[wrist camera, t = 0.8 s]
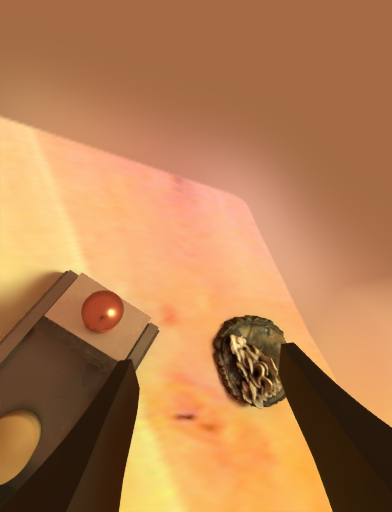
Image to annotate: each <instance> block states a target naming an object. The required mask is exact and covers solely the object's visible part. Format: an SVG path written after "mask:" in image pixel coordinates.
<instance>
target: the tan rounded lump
mask: <svg viewBox="0 0 392 512" xmlns="http://www.w3.org/2000/svg"><path fill="white" fill-rule="evenodd" d="M40 436H41V423H40V421H39V419H38V417H37V416H36V415H35V414H34V413H32V412H30V411H27V410H16V411H12V412H9V413H7V414H5V415H3V416H2V417H0V485H1V484H4V483H6V482H7V481H9V480H11V479H12V478H14V477H15V476H16V475H17V474H18V473H19V472H20V471H21V470H22V469H23V468H24V467H25V465H26V464H27V462H28V461H29V459H30V457H31V455H32V454H33V452H34V450H35V448H36V447H37V445H38V442H39V440H40Z"/></svg>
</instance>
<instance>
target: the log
mask: <svg viewBox="0 0 392 512" xmlns="http://www.w3.org/2000/svg"><path fill="white" fill-rule="evenodd" d="M284 343H286V341H285V338H284V337H283V331H281V330H280V329H279V328H278V327H277V326H276V325H274V323H273V322H272V321H271V320H268V319H266V318H261V317H258V316H250V315H246V316H244V317H234V319H233V320H229V321H226V322H225V323H224V326H223V328H222V329H220V331H219V333H218V336H217V338H215V339H214V347H215V349H216V352H215V354H214V357H215V361H216V362H217V364H218V371H219V373H220V374H221V375H222V380H223V384H224V386H225V387H226V389H227V391H228V393H229V394H231V395H233V397H234V398H235V399H237V400H241V401H243V402H245V403H250V404H252V405H253V406H255V407H257V408H259V409H262V408H263V407H270V406H272V405H274V404H277V403H278V401H282V400H284V399H285V398H286V395H285V392H284V389H283V386H282V383H281V380H280V377H279V361H280V348H281V344H284Z"/></svg>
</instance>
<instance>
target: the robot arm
mask: <svg viewBox="0 0 392 512" xmlns="http://www.w3.org/2000/svg"><path fill="white" fill-rule="evenodd" d="M279 377H280V380H281V383H282V386H283V389H284V392H285V395H286V398H287V400H288V402H289V404H290V407H291V409H292V411H293V413H294V416H295V418H296V420H297V422H298V424H299V427H300V429H301V431H302V433H303V435H304V438H305V440H306V442H307V444H308V446H309V449H310V451H311V453H312V456H313V458H314V461H315V463H316V466H317V469H318V471H319V474H320V477H321V480H322V482H323V485H324V488H325V491H326V494H327V497H328V499H329V502H330V505H331V508H332V511H333V512H392V427H390V426H389V425H387V424H386V423H385V422H383V421H382V420H380V419H379V418H378V417H377V416H375V415H374V414H372V413H371V412H370V411H368V410H367V409H366V408H365V407H364V406H362V405H361V404H360V403H359V402H357V401H356V400H355V399H354V398H352V397H351V396H350V395H349V394H348V393H347V392H345V391H344V390H343V389H342V388H341V387H340V386H338V385H337V384H336V383H335V382H334V381H333V380H332V379H331V378H330V377H329V376H327V375H326V374H325V373H324V372H323V371H322V370H321V369H320V368H319V367H318V366H317V365H316V364H315V363H314V362H313V361H312V360H311V359H310V358H309V357H308V356H307V355H306V354H305V353H304V352H303V351H302V350H301V349H300V348H299V347H298V346H297V345H296V344H295V343H284V344H281V348H280V361H279ZM139 390H140V388H139V384H138V380H137V376H136V373H135V369H134V365H133V361H132V359H127V360H119V361H118V362H117V364H116V365H115V367H114V369H113V370H112V372H111V373H110V375H109V377H108V378H107V380H106V381H105V383H104V384H103V386H102V387H101V389H100V390H99V392H98V393H97V395H96V396H95V398H94V399H93V401H92V402H91V404H90V405H89V406H88V408H87V409H86V411H85V412H84V413H83V415H82V416H81V417H80V419H79V420H78V421H77V423H76V424H75V425H74V427H73V428H72V429H71V430H70V432H69V433H68V434H67V435H66V437H65V438H64V439H63V440H62V442H61V443H60V444H59V445H58V446H57V448H56V449H55V450H54V451H53V452H52V453H51V455H50V456H49V457H48V458H47V459H46V460H45V461H44V462H43V463H42V465H41V466H40V467H39V468H38V469H37V470H36V471H35V472H34V473H33V474H32V475H31V477H30V478H29V479H28V480H27V481H26V482H25V483H24V484H23V485H22V486H21V487H20V488H19V489H18V490H17V491H16V492H15V493H14V494H13V495H12V496H11V497H10V498H9V499H8V500H7V501H6V502H5V503H4V504H3V505H2V506H1V507H0V512H119V506H120V499H121V491H122V484H123V478H124V472H125V467H126V462H127V458H128V453H129V448H130V444H131V439H132V434H133V430H134V425H135V420H136V415H137V409H138V401H139Z"/></svg>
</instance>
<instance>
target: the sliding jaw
mask: <svg viewBox="0 0 392 512" xmlns="http://www.w3.org/2000/svg"><path fill="white" fill-rule="evenodd" d="M150 319H151V317H149V316H148V315H146V314H145V313H143V312H141V311H140V310H138V309H137V308H135V307H134V306H132V305H131V304H129V303H128V302H126V301H125V300H123V299H122V298H120V297H119V296H118V295H117V294H115V293H114V292H111V291H109V290H108V289H106V288H105V287H103V286H102V285H100V284H99V283H97V282H96V281H94V280H93V279H91V278H90V277H88V276H87V275H85V274H84V273H81V274H80V275H79V277H78V278H77V279H76V280H75V281H74V282H73V283H72V284H71V286H70V287H69V288H68V289H67V290H66V291H65V292H64V293H63V295H62V296H61V297H60V298H59V299H58V300H57V301H56V303H55V304H54V305H53V306H52V307H51V308H50V309H49V310H48V312H47V313H46V314H45V315H44V316H43V317H42V318H41V319H40V321H39V322H38V323H37V324H36V325H35V326H34V327H33V328H34V329H35V330H37V331H39V332H40V333H42V334H44V335H45V336H47V337H49V338H50V339H52V340H54V341H55V342H57V343H59V344H60V345H62V346H64V347H65V348H67V349H68V350H70V351H72V352H73V353H75V354H77V355H78V356H80V357H82V358H83V359H85V360H87V361H88V362H90V363H92V364H93V365H95V366H97V367H98V368H100V369H102V370H103V371H105V372H107V373H108V374H110V373H111V372H112V370H113V369H114V367H115V365H116V364H117V362H118V361H119V360H125V359H126V357H127V355H128V354H129V352H130V351H131V349H132V347H133V346H134V344H135V343H136V341H137V340H138V338H139V336H140V335H141V333H142V332H143V330H144V328H145V327H146V325H147V324H148V322H149V320H150Z"/></svg>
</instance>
